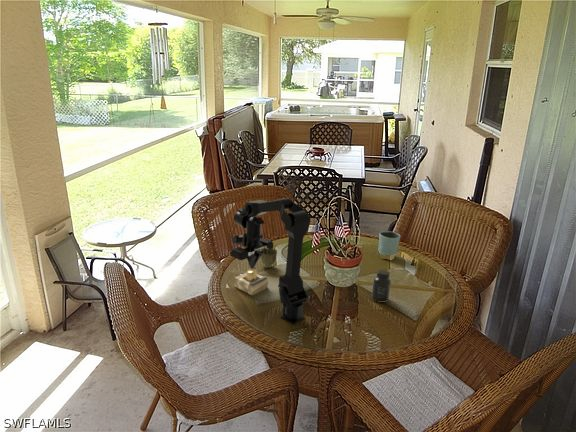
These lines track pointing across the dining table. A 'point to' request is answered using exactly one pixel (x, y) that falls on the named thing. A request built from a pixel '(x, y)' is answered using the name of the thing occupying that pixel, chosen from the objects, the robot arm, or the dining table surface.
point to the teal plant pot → (388, 242)
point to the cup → (268, 257)
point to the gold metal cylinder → (251, 275)
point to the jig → (251, 284)
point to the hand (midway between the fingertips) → (251, 268)
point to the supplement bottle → (381, 286)
